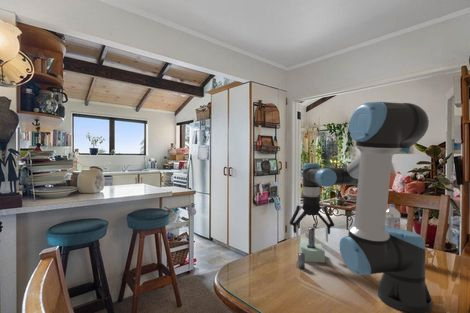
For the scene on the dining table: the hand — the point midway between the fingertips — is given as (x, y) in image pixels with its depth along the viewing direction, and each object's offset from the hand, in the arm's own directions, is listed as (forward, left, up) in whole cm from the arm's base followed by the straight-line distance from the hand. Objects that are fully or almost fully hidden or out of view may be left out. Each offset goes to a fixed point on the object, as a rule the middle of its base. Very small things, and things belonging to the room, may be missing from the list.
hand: (311, 240), depth 119 cm
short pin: (-12, +6, -8) cm, 16 cm away
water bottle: (+6, -38, -8) cm, 39 cm away
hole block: (0, 0, -8) cm, 8 cm away
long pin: (0, 0, -8) cm, 8 cm away
